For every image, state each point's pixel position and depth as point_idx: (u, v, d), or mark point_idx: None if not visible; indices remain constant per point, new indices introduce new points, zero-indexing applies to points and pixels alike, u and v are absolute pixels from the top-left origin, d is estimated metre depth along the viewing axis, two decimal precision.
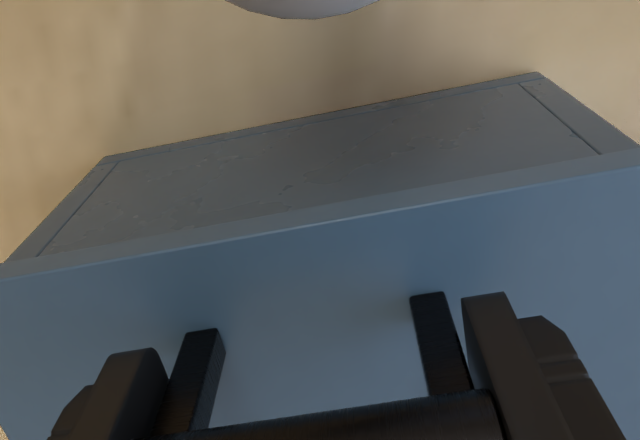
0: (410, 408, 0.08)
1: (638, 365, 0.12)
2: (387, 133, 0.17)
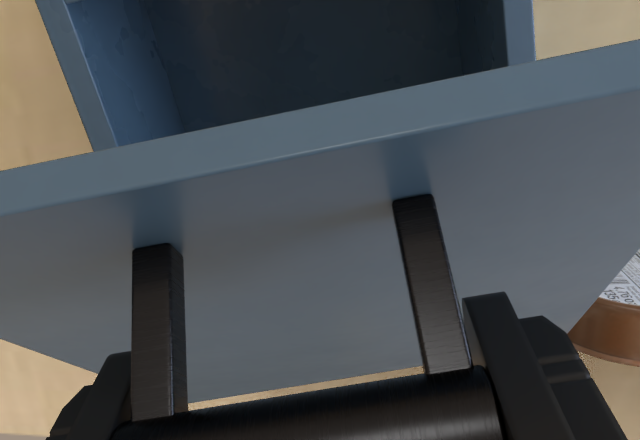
0: (411, 419, 0.08)
1: (619, 215, 0.12)
2: None
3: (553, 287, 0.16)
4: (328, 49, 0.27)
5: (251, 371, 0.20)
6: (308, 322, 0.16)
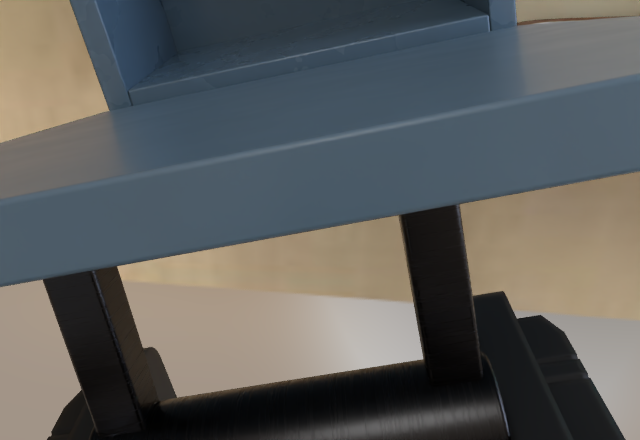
0: None
1: None
2: None
3: None
4: None
5: None
6: None
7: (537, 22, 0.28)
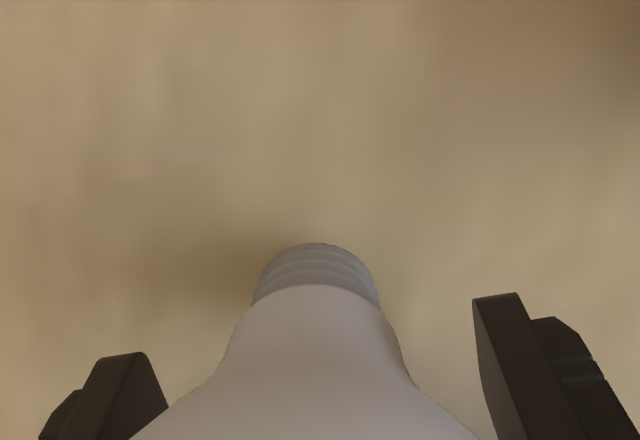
0: None
1: None
2: None
3: None
4: None
5: None
6: None
7: None
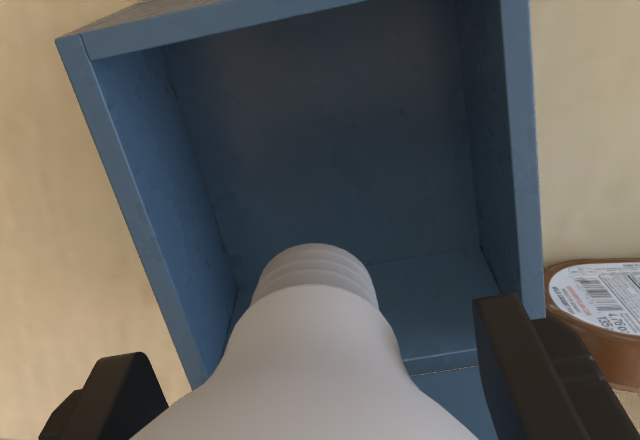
0: None
1: None
2: None
3: None
4: (336, 83, 0.28)
5: None
6: None
7: (558, 270, 0.31)
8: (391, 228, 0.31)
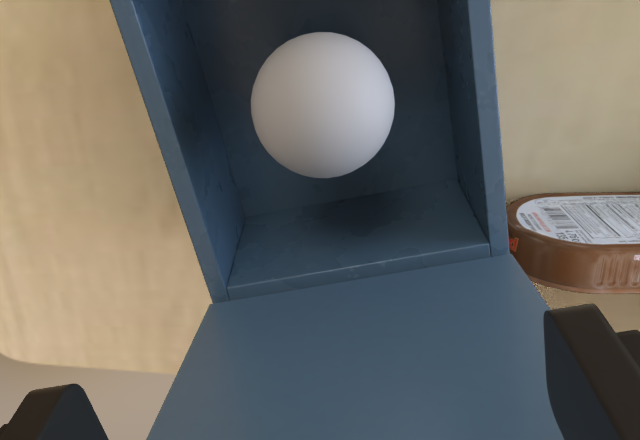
0: None
1: None
2: None
3: None
4: (331, 31, 0.32)
5: None
6: None
7: (526, 201, 0.36)
8: (380, 162, 0.35)
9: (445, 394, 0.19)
